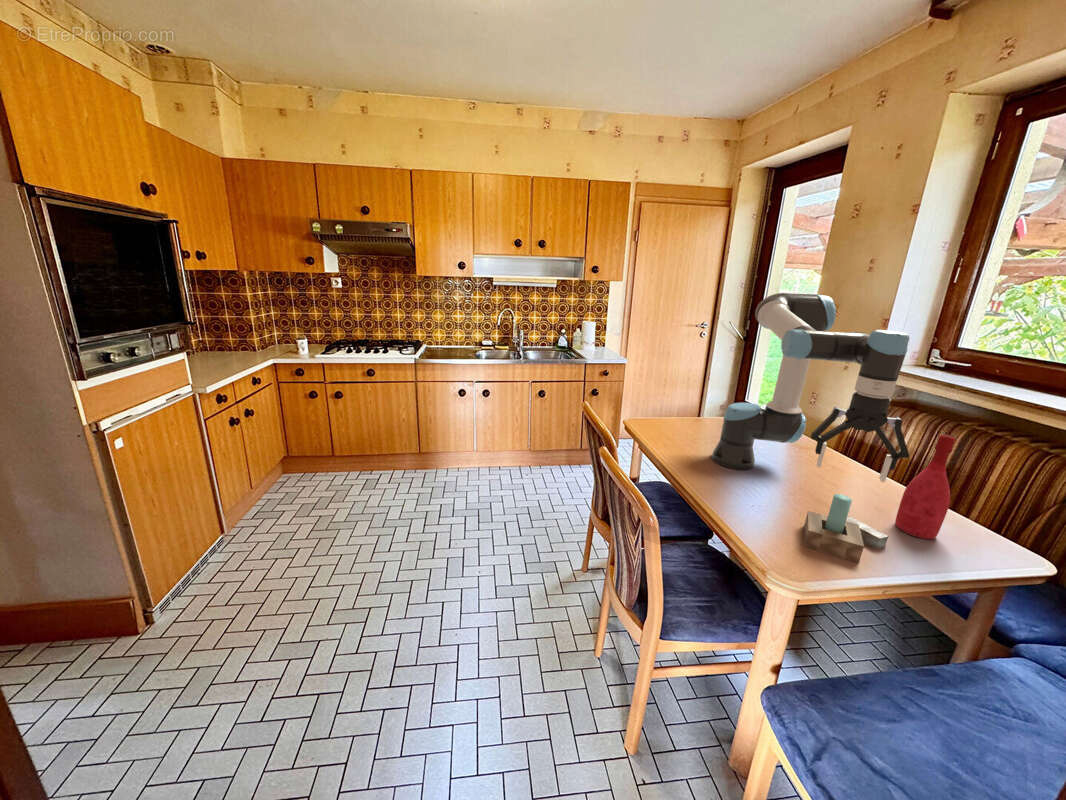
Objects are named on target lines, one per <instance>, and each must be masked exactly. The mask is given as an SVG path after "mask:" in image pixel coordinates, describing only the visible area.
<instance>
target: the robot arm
mask: <svg viewBox="0 0 1066 800" xmlns="http://www.w3.org/2000/svg"><path fill="white" fill-rule="evenodd" d="M836 310H837V309H836V305H835V302H834V300H833V298H832V297H830V296H828V295H823V294H817V293H815V294H814V293H790V292H778V293H774V294H773V293H772V294H771V295H769V296H767V297H765V298H763V300H761V301H760V302H759V303H758V304H757V307H756V309H755V313H754V314H755V319H756V321H757V322H758V324H759V325H760V326H761V327H763V328H764V329H768V330H770V331H772V333H773V334H774V335H775V336H777V337H778V338H779V340H781V345H780V346H781V347H780V349H781V353H782V359H781V362H780V366H779V370H778V374H777V379H776V383H775V388H774V392H773V396H772V400H770V401H769V402H767V403H766V406H765V408H764V409H762V408H761V406H760V405H758V404H756V403H750V402H734V403H731V404H729V405H728V406H727V407H726V409H725V412H724V415H723V423H722V427H721V433H720V437H719V438H720V439H719V441H718V443H717V444H716V446H715V448H714V449H713V452H712V456H711V460H713V462H714V463H716V464H718V465H720V466H722V467H725V468H728V469H733V470H738V471H739V470H741V471H748V470H752V469H753V468H754V467H755V463H756V458H755V454H754V443H755V442H754V441H755V440H759V441H765V442H766V441H767V442H775V443H782V444H785V443H789V444H793V443H795V442H798V441H799V440H800V439H801V438H802V437H803V435H804V433H805V430H806V421H807V419H806V417H805V415H804V414H803V409H802V408H801V407H800V401H801V399H802V395H803V389H804V387H805V383H806V379H807V375H808V371H809V367H810V364H811V360H815V361H816V360H817V361H818V360H819V361H831V362H839V363H840V362H841V363H842V362H843V363H853V364H858V365H860V368H859V372H858V375H857V379H856V382H855V385H854V390H855V392H853V393H852V396H851V399H850V404H849V406H848V408H847V410H845V409H842V408H839V406H834V407H833V408H832V411H831V413H830V415H828V416H827V417H826V418H825V419H824V420H823V422H821V423H820V424H819V426H817V427H816V428H815V429H814V430H813V431H812V432H811V433H810V438H811V439H812V440H814V441H816V445H815V450H814V451H815V454H816V455H818V458H817V460H816V466H817V468H821V467H822V462H823V459H824V456H825V452H826V449H827V441H829V440H831V439H833V438H835V437H836V436H838V435H840V434H842V433H843V432H844V431H847V430H849V429H851V428H852V429H854V430H857V431H864V432H866V433H867V432H868V433H871V432H875V433H876V434H877V436H878V437H879V439H880V440H881V442H882V443H883V445H884V446H885V448H886V449H887V451H888V452H889V453H890V454H888V453H887V454H886V456H885V459H884V462H883V465H882V468H881V471H880V473H879V481H880V482H881V483H886V480H887V477H888V475H889V470H890V471H894V470H895V469H896V466H897V463H898V460H900V459H903V458H904V459H909V457H910V453H909V449H908V446H907V443H906V441H905V437H904V433H903V431H902V424H903V421H902V419H901V418H900V417H899V416H895V417H888V416H887V415H888V411H889V408H890V405H891V402H892V399H891V398H890V397H892V396H893V395H894V392H895V388H896V385H897V382H898V378H899V376H900V372H901V369H902V367H903V364H904V360H905V358H906V354H907V352H908V345H909V343H910V342H909V341H910V335H909V334H908V333H906V332H901V331H896V330H894V331H893V330H885V329H875V330H872V331H871V332H870V333H869V334H867V333H865V332H857V331H854V332H853V331H852V332H841V331H840V332H838V331H837V332H836V331H829V330H831V329H832V328H833V325H834V324H835V320H836V312H837V311H836ZM842 416H845V418H846V420H844V421H843V422H842V423H841V424H839V425H836V426H835V427H834V428H831V429H830V430H828V431H827V432H825V431H826V430H827V429H828V428H829V427H830V426H831V425H832V424H833V423H834V422H836V419H837V418H841V417H842ZM887 423H888V424H889V425H890V427H892V428H893V432H894V434H895V435H894V436H895V437H896V441H897V444H898V447H899V451H897V450H896V448H895V447H894V446H893V444H892V442H891V441H890V439H889V438H888V437H887V435H886V433H885V432H884V431H883V430H882V428H881V427H883V426H884V425H885V424H887ZM824 432H825V433H824ZM823 433H824V434H823Z"/></svg>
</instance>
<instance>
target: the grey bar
mask: <svg viewBox="0 0 1066 800" xmlns="http://www.w3.org/2000/svg"><path fill="white" fill-rule="evenodd" d="M846 521H848V522H851V523H855V524H859V527H860V531H861V536H862V540H863V544H866V545H868V546H870V547H871V548H873V549H875V550H879V549H883V548H885V547H886V545H887V543H888V539H889V535H887V534H885V533H883V532H881V531H879V530H877V529H875V528H874V527H871V526H869V525H868V524H865V523H864V522H862V521H859V520H858V519H856V518H854V517H852V516H849V517H848V516H847V519H846Z"/></svg>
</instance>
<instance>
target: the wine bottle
mask: <svg viewBox="0 0 1066 800" xmlns="http://www.w3.org/2000/svg"><path fill="white" fill-rule="evenodd" d="M955 441H956V438H955V437H954V436H952V435H949V434H940V435H938V439H937V441H936V443H935V445H934V450H935V452H934V455H933V457H932V458H931V460H930V462H929V464H928V465H927V466H926V467H925V468H924V469H923V470H922V471H920V472H919V473H918V474H917V475H916V476H914V478H913V479H912V480H911V481H910V482H909V483H908V485H907V486H906V487H905V488H904V491H903V493H902V497H901V500H900V503H899V507H898V510H897V512H896V515H895V521H894V523H895V525H896V527H897V528H898V529H899V530H901V531H902V532H904V533H906V534H907V535H910V536H912V537H913V536H914V537H916V538H920V539H924V540H925V539H927V540H931V539H935V538H936V537H938V535H939V533H940V530H941V528H942V525H943V524H944V521H945V518H946V517H947V516H946V515H947V514H948V510H949V508H950V504H951V490H950V489H951V488H950V484H949V480H948V477H947V471H946V470H947V469H946V467H947V461H948V458H949V454H950V453H952V452H953V447H954V443H955Z"/></svg>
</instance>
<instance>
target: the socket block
mask: <svg viewBox="0 0 1066 800" xmlns="http://www.w3.org/2000/svg"><path fill="white" fill-rule="evenodd" d="M827 518H828V515H825V514H820V513H818V512H813V511H810V510H807V513H806V518H805V521H804V524H803V536H804V537H803V542H804V543H803V544H804V545H803V547H804V548H809V549H811V550H815V551H818V552H820V553H824V554H828V555H831V556H834V557H837V558H841V559H844V560H847V561H849V562H854V563H857V564H860V562H861V558H862V553H863V552H864V551H863V550H864V549H865V543H864V542H863V540H862V536H861V531H860V527H859V524H855V523H851V522H848V521H846V523H845V526H844V530H843V533H842V534H839V533H836V532H832V531H828V530H825V525H826V521H827Z"/></svg>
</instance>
